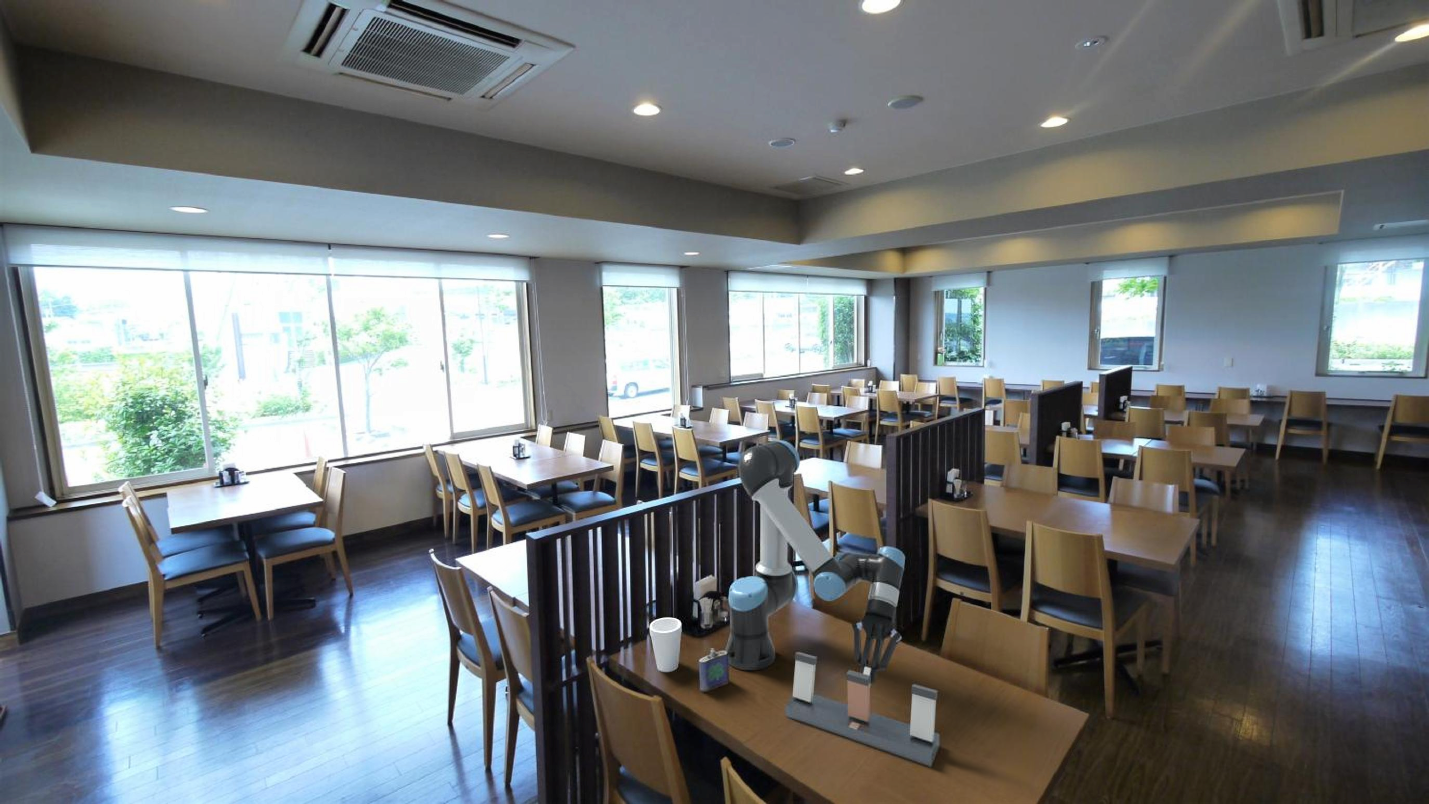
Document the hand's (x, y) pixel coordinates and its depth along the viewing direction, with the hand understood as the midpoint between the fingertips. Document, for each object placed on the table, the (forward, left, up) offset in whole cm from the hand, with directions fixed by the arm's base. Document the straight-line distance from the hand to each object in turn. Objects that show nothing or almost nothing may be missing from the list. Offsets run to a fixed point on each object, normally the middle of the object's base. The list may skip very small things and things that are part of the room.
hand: (863, 695), depth 145 cm
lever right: (+7, +13, -5) cm, 15 cm away
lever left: (-4, -15, -5) cm, 16 cm away
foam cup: (-20, -56, -8) cm, 60 cm away
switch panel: (+2, -1, -8) cm, 8 cm away
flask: (-12, -40, -8) cm, 43 cm away
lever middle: (+2, -1, -5) cm, 5 cm away
